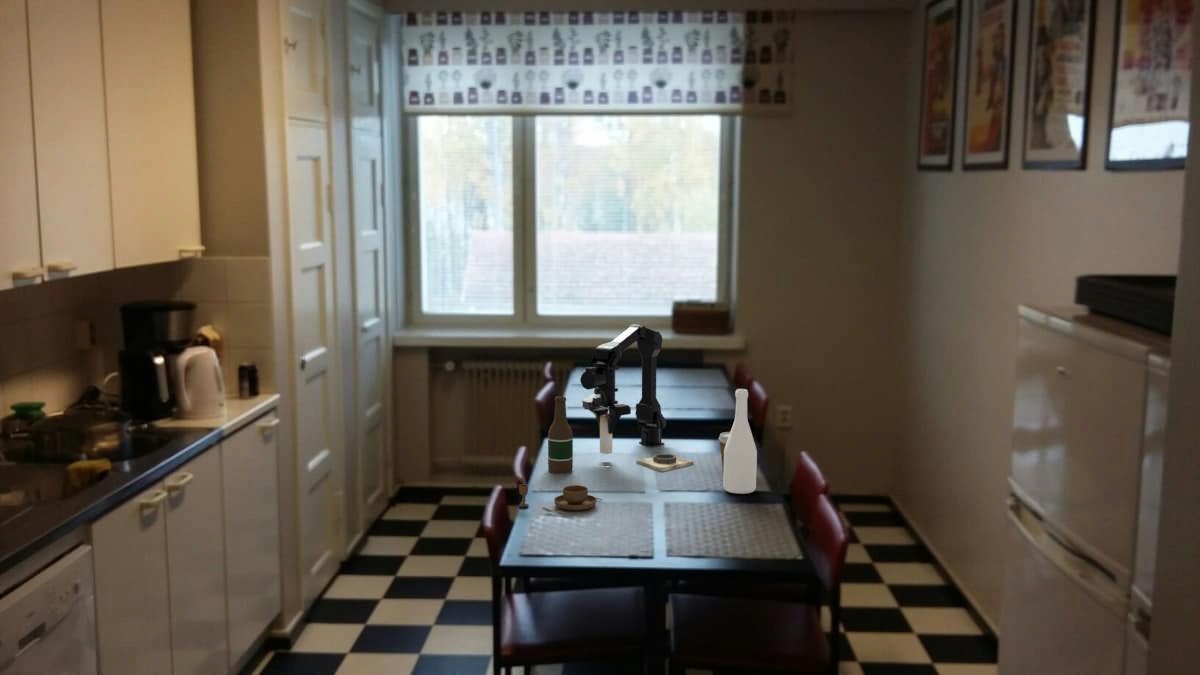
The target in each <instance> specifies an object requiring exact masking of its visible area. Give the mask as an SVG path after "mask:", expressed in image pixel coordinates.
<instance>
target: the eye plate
mask: <svg viewBox="0 0 1200 675" xmlns="http://www.w3.org/2000/svg"><path fill="white" fill-rule="evenodd" d="M635 462H636V464H638V465H641V466H644V467H647V468H649V469H651V470H654V471H657V472H666V471H669V470H674V469H679V467H680V468H683V466H684V467H688V466H692V465H694V460H690V459H687V458H682V457H679V456H677V455H675V454H672V453H657V454H653V457H648V458H641V459H636V461H635Z"/></svg>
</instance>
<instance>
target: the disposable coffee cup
mask: <svg viewBox="0 0 1200 675" xmlns="http://www.w3.org/2000/svg"><path fill="white" fill-rule="evenodd" d="M730 432H731V431H726V432H721V433H720V434H719V437H718V441H719V447H720V455H721V465H722V466H721V468H722V472H723V473H724V449H725V446H726V443H727V440H728V437H729V435H730Z"/></svg>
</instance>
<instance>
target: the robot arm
mask: <svg viewBox="0 0 1200 675" xmlns="http://www.w3.org/2000/svg"><path fill="white" fill-rule="evenodd" d="M635 342H636V346H637V350H638V351H639V353H640V356H641V399H640V400H639V402H638V403H636V404H635V413H634V414H635V415H634V416H635V417H636V422H637V426H638V427H641V431H640V432H641V433H640V435H641V436H640V441H639V442H638V444H640V445H644V446H647V447H657V446H661V445H665V442H662V430H664V429H665V428H666V426H667V420H666V418H665V416H664V415H663V414H662V406H661V404H660V402H659V401H658V398H657V358H658V355H659V353H660V351H661V350H662V346H663V345H662V344H663V336H662V334H661V332H660V331H656V330H653V329H651V328H647V327H646V326H644V325H643V324H630V325H629V326H628V328H627V329H626V330H624V331H623V332H622V333H620V334H619V335H618V336H617V337H615V338H614V339H613V340H612V341H610V342H606V343H602V344H600V345H598V346H597V347H596V348H595V350H594V352H593V354H592V356H591V359H590V362H589V364H588V365H587V367H585V371H583V373H581V376H580V379H579V380H580V385H581V387H583V388H584V389H585V390H592V389H594V390H593V393H592V394H589V395H588V396H586V397H585V398H582V399H581V403H582V408H583V409H584V410H587V411H588V412H590V413H592V414H593V415H594V416H595V419H596V420H597V424H598V428H599V429H600V415H605V416H606V417H607V421H608V432H609V434H612V435H613V432H614V430H615V429H616V426H617V424H618V422H619V420H620V418H621V417H622V416H626V415H631V413H632V411H631V410H632V409H631V407H630V405H628V404H625V403H619V401H618V400H616V392H619V387H618V388H617V387H616V371H618V370H620V368H619V366H618V365H617V363H618V362H619V361H620V359H622V354H623V352H625V351H626V350H627V349H628V348H629V347H630V346H632V345H633V344H634V343H635Z"/></svg>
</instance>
